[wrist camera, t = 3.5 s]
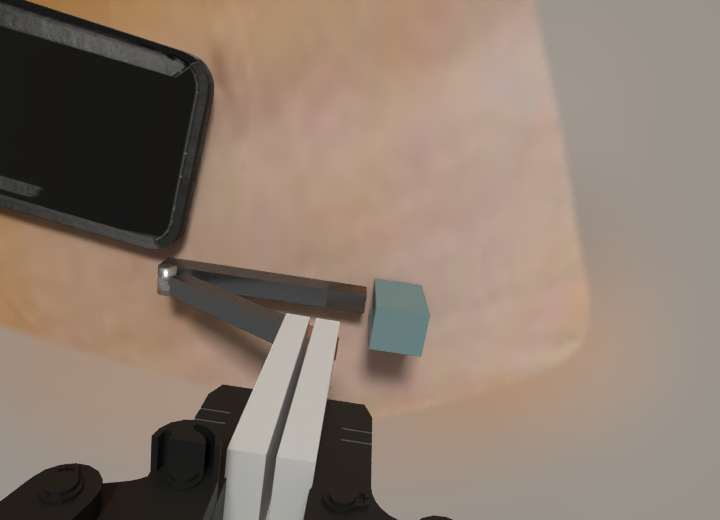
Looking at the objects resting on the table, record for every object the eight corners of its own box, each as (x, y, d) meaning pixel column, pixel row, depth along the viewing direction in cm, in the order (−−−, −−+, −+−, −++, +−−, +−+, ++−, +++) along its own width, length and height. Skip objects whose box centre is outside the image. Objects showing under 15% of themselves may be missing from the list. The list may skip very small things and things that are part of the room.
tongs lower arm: (167, 274, 22) (158, 283, 21) (168, 257, 21) (159, 264, 20) (363, 303, 22) (363, 313, 21) (366, 286, 22) (366, 295, 21)
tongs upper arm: (168, 287, 21) (152, 291, 20) (169, 262, 20) (153, 265, 20) (335, 363, 17) (322, 371, 16) (339, 333, 17) (326, 341, 16)
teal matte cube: (368, 315, 22) (368, 349, 19) (375, 278, 21) (376, 306, 18) (413, 322, 22) (421, 356, 19) (421, 285, 22) (430, 314, 19)
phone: (-215, -77, 17) (214, 61, 18) (-180, -66, 18) (222, 63, 19) (-208, 148, 20) (172, 259, 21) (-178, 145, 21) (182, 251, 22)
